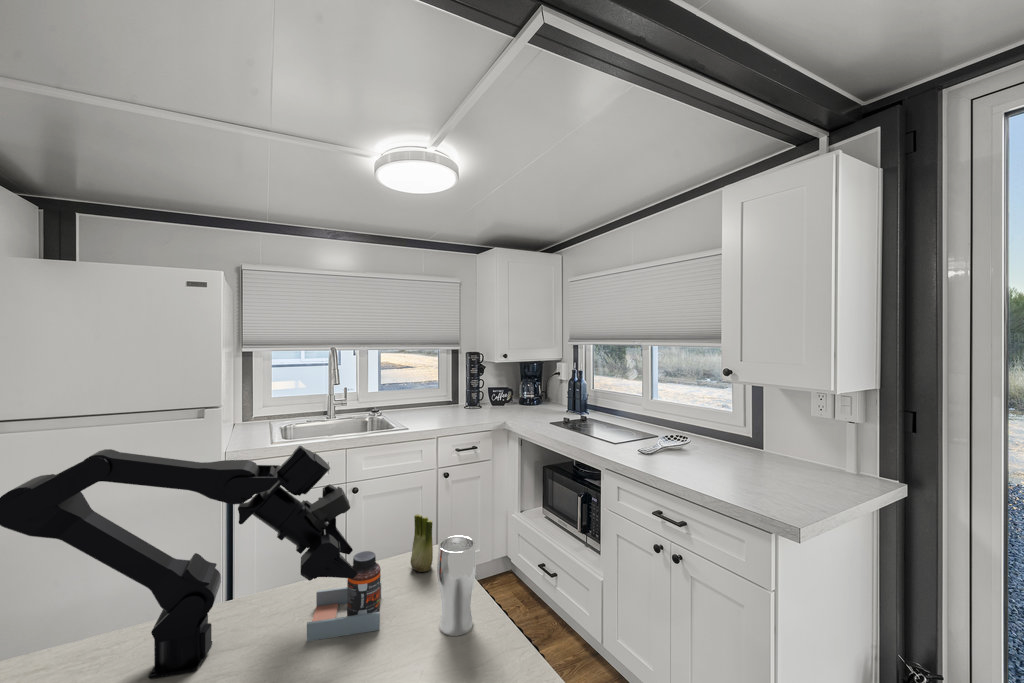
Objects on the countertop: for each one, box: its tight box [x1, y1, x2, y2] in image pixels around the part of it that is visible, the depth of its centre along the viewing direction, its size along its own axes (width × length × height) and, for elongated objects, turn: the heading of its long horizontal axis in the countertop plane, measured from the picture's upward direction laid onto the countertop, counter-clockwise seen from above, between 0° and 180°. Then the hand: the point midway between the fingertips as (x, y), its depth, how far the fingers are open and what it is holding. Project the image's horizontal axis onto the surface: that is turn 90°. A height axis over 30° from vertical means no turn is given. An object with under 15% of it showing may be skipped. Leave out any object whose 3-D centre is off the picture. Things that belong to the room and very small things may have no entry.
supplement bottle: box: [346, 550, 382, 617], centre depth 82 cm, size 6×6×11 cm
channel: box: [306, 582, 382, 642], centre depth 82 cm, size 12×10×3 cm
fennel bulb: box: [410, 514, 434, 573], centre depth 99 cm, size 6×5×12 cm
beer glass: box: [436, 535, 477, 637], centre depth 80 cm, size 7×7×15 cm
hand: (353, 563), depth 81 cm, fingers open, 9 cm apart
